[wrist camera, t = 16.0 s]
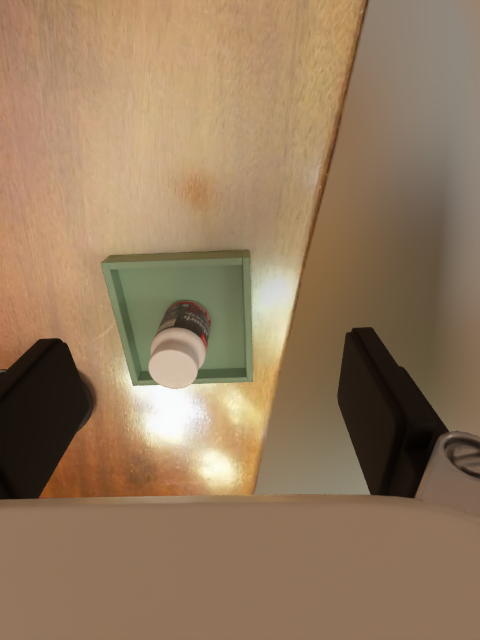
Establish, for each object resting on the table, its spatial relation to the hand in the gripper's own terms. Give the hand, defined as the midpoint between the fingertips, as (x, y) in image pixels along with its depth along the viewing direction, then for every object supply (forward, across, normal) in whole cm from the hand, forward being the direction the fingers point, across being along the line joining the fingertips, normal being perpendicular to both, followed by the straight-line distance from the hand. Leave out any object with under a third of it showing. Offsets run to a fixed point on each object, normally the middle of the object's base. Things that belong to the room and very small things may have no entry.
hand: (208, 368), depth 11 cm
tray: (+25, +6, +12) cm, 29 cm away
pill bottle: (+25, +6, +12) cm, 28 cm away
